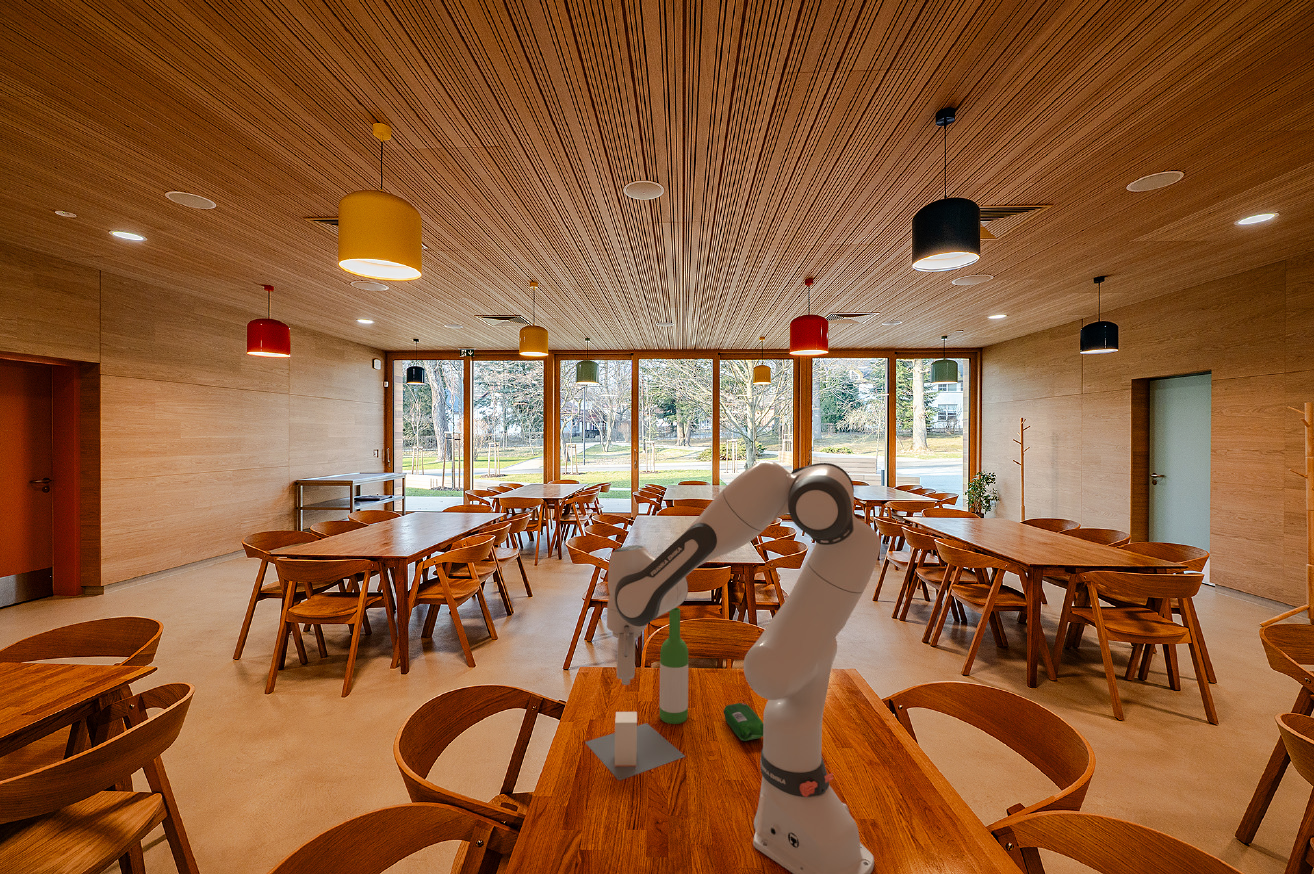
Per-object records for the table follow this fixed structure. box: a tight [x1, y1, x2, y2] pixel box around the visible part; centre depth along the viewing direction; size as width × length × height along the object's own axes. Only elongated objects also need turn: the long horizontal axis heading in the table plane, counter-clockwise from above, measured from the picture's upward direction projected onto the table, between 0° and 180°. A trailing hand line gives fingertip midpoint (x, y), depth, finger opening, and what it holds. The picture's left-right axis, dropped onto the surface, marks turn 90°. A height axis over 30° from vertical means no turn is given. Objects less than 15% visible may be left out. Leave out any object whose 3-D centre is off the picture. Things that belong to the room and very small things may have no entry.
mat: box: [584, 722, 687, 782], centre depth 130 cm, size 18×18×1 cm
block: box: [614, 711, 638, 767], centre depth 125 cm, size 5×5×10 cm
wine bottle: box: [659, 607, 689, 725], centre depth 146 cm, size 8×8×30 cm
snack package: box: [723, 702, 763, 742], centre depth 140 cm, size 7×16×5 cm, turn 13°
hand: (625, 682), depth 118 cm, fingers closed
